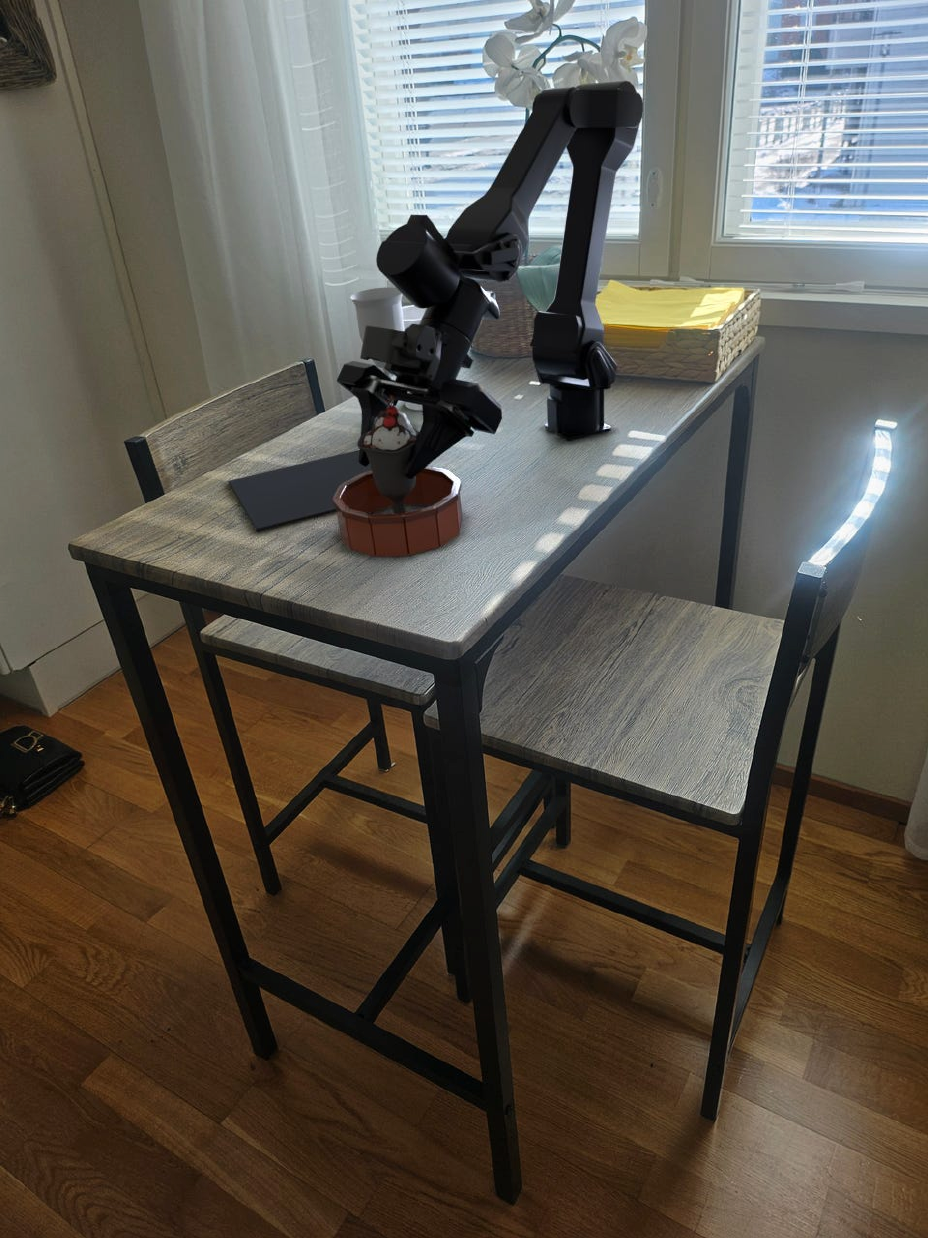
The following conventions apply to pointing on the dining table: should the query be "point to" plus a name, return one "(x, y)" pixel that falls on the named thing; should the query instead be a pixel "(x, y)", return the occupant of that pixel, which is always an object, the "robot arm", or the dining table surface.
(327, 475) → the placemat
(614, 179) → the robot arm
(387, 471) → the sundae
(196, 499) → the dining table surface
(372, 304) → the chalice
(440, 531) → the serving tub
